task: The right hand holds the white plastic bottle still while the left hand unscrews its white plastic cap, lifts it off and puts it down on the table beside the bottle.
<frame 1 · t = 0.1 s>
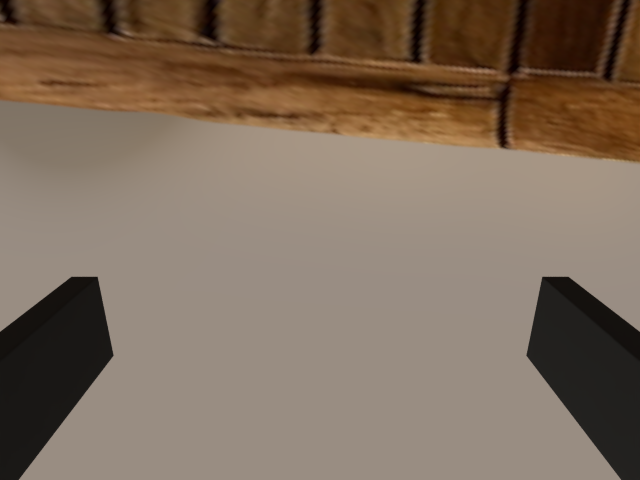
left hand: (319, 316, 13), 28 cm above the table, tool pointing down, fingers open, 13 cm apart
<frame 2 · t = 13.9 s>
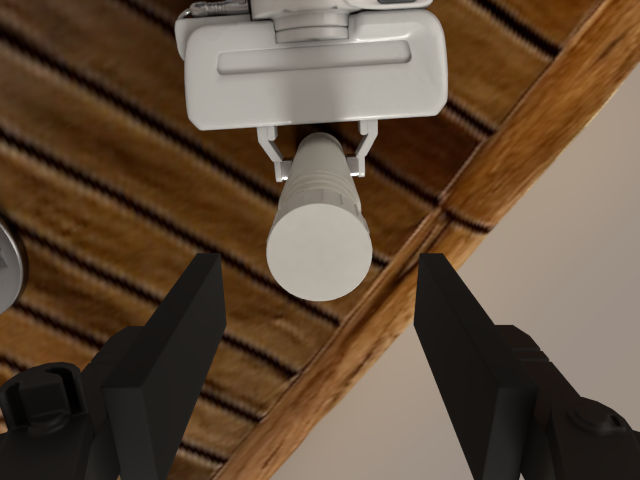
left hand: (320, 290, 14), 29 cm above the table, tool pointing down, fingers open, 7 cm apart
right hand: (321, 178, 36), fingers closed on bottle, 4 cm apart
bottle: (319, 156, 41), on the table, touching right hand
cap: (319, 251, 18), point 25 cm above the table, screwed on, not yet turned
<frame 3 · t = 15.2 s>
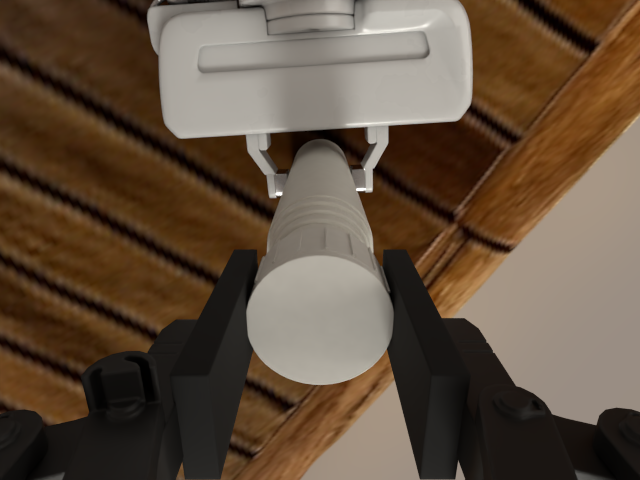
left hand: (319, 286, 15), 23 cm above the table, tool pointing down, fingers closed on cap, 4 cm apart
right hand: (321, 193, 31), fingers closed on bottle, 4 cm apart
bottle: (320, 166, 36), on the table, touching right hand
cap: (319, 318, 13), point 25 cm above the table, screwed on, not yet turned, touching left hand
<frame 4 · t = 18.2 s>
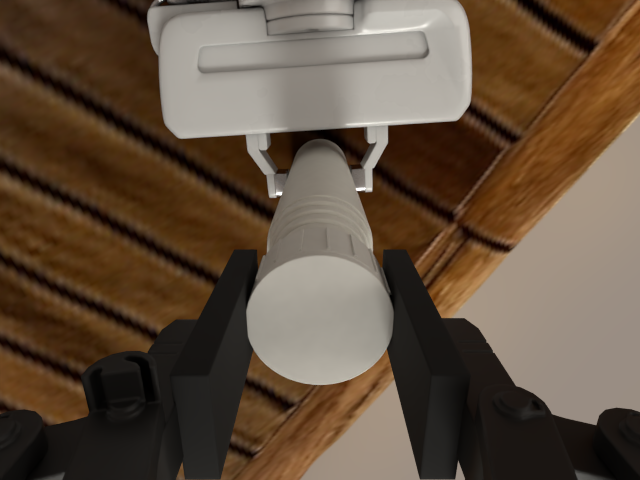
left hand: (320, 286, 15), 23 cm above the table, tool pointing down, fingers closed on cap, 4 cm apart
right hand: (321, 193, 31), fingers closed on bottle, 4 cm apart
bottle: (319, 165, 36), on the table, touching right hand
cap: (319, 318, 13), point 25 cm above the table, turned 83° so far, risen 0.1 cm, still on its thread, touching left hand
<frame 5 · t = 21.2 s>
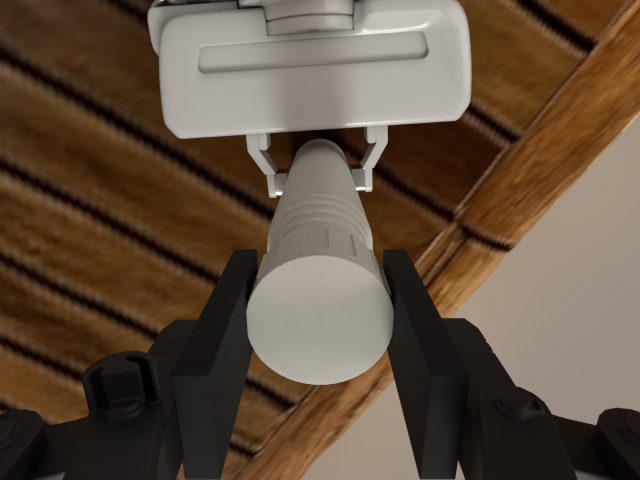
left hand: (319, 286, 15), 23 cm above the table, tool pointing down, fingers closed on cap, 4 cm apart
right hand: (321, 193, 31), fingers closed on bottle, 4 cm apart
bottle: (319, 165, 36), on the table, touching right hand
cap: (319, 318, 13), point 25 cm above the table, turned 166° so far, risen 0.1 cm, still on its thread, touching left hand
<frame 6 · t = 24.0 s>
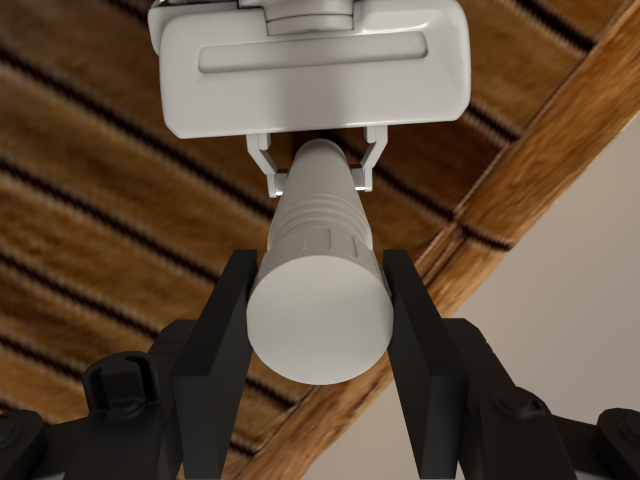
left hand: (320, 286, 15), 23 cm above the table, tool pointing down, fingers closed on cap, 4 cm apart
right hand: (321, 192, 31), fingers closed on bottle, 4 cm apart
bottle: (319, 165, 36), on the table, touching right hand
cap: (319, 318, 13), point 25 cm above the table, turned 250° so far, risen 0.2 cm, still on its thread, touching left hand
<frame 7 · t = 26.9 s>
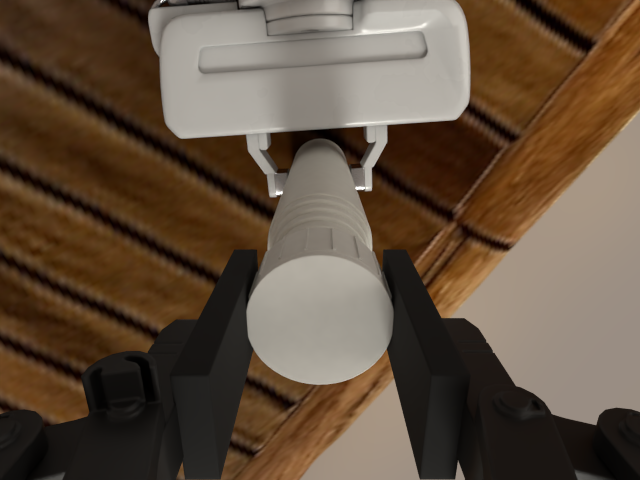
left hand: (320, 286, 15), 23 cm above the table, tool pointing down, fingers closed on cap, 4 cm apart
right hand: (321, 192, 31), fingers closed on bottle, 4 cm apart
bottle: (319, 165, 36), on the table, touching right hand
cap: (319, 318, 13), point 26 cm above the table, turned 333° so far, risen 0.3 cm, still on its thread, touching left hand
when the left hand's fingers open (1 cm above the table, at t = 35.2 s): cap stays where it is, point 2 cm above the table.
when the right hand's fingers open (6 cm above the table, at t = 36.5 s): bottle stays where it is, on the table.
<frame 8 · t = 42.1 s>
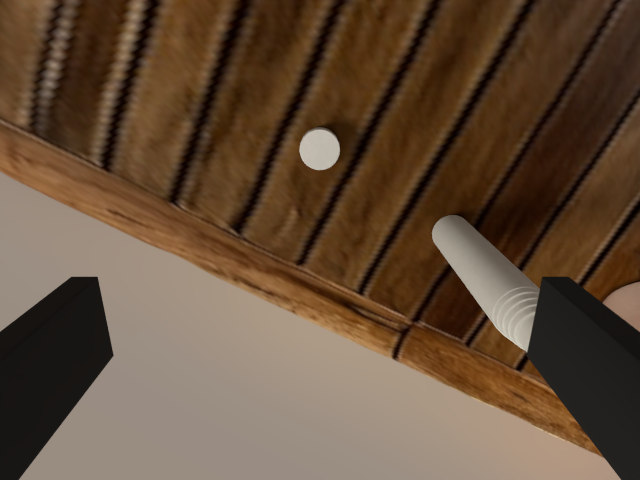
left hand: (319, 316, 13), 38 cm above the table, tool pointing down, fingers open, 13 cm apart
bottle: (450, 232, 52), on the table
anatomical model: (639, 315, 56), on the table
cap: (319, 149, 46), point 2 cm above the table, off its thread
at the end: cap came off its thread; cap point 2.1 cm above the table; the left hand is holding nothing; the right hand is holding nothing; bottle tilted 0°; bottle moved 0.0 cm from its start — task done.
